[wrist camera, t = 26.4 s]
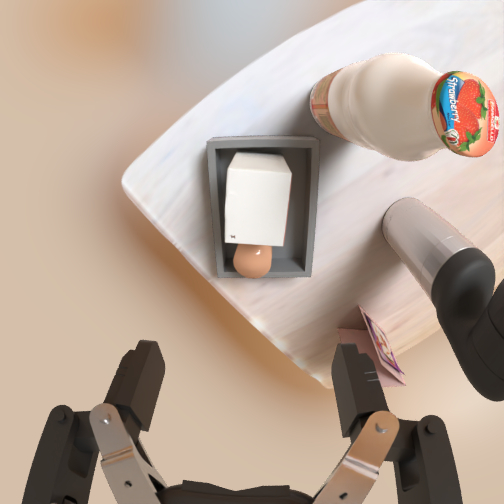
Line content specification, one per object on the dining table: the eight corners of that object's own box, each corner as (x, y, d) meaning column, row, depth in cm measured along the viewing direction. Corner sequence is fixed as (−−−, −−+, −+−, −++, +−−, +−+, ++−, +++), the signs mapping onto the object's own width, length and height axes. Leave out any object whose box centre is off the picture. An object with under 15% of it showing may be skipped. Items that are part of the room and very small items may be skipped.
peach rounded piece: (251, 217, 42) (245, 238, 36) (279, 235, 43) (278, 258, 37) (234, 242, 44) (226, 266, 38) (261, 258, 45) (257, 284, 39)
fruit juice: (306, 72, 32) (395, 10, 8) (369, 76, 32) (517, 61, 7) (309, 136, 37) (400, 195, 12) (371, 137, 36) (512, 201, 12)
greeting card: (387, 329, 54) (409, 383, 41) (359, 347, 57) (376, 402, 44) (361, 301, 50) (385, 361, 37) (331, 323, 53) (346, 384, 40)
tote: (312, 136, 37) (319, 140, 32) (306, 260, 46) (310, 277, 42) (213, 137, 37) (206, 141, 33) (221, 260, 47) (217, 277, 42)
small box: (277, 206, 41) (283, 248, 30) (233, 203, 41) (223, 244, 30) (282, 152, 37) (293, 172, 26) (236, 148, 37) (225, 167, 26)
